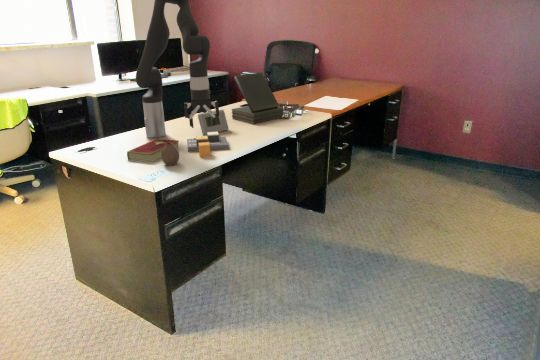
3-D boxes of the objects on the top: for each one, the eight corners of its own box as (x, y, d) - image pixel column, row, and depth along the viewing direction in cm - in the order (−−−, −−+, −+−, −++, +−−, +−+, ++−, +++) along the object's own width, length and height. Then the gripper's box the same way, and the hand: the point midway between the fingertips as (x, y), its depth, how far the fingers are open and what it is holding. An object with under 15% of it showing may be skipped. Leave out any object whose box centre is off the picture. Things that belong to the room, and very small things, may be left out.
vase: (181, 161, 172) (179, 140, 169) (178, 166, 166) (176, 145, 163) (164, 161, 172) (161, 141, 169) (160, 167, 166) (158, 146, 162)
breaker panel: (187, 151, 184) (187, 146, 183) (187, 143, 197) (186, 137, 196) (228, 148, 187) (228, 143, 186) (225, 140, 200) (225, 135, 199)
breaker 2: (218, 137, 197) (217, 131, 195) (219, 140, 192) (218, 134, 191) (207, 138, 196) (207, 132, 195) (208, 141, 191) (207, 134, 190)
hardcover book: (127, 160, 176) (126, 150, 174) (157, 146, 194) (156, 137, 192) (151, 163, 172) (150, 153, 170) (179, 148, 190) (178, 139, 188)
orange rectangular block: (199, 157, 177) (198, 145, 175) (199, 153, 181) (198, 142, 179) (210, 156, 178) (209, 144, 176) (209, 153, 182) (208, 142, 180)
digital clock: (202, 136, 208) (201, 115, 204) (195, 132, 215) (194, 112, 211) (231, 131, 216) (230, 111, 212) (224, 128, 223) (223, 108, 219)
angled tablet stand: (253, 125, 229) (252, 78, 220) (231, 119, 242) (229, 75, 233) (283, 118, 243) (283, 74, 234) (261, 113, 257) (260, 71, 248)
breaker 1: (207, 142, 190) (207, 135, 189) (208, 145, 186) (207, 138, 184) (196, 142, 189) (195, 136, 188) (196, 145, 185) (196, 139, 184)
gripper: (182, 90, 165) (185, 130, 170) (218, 88, 167) (220, 127, 173) (181, 87, 171) (185, 125, 177) (216, 85, 174) (219, 123, 180)
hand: (203, 126), depth 175 cm, fingers open, 8 cm apart
